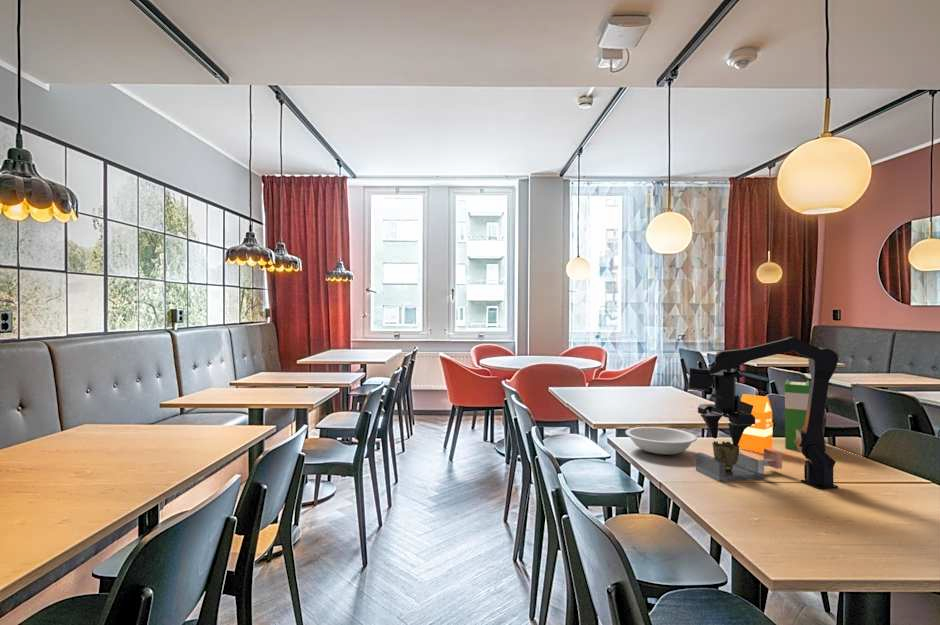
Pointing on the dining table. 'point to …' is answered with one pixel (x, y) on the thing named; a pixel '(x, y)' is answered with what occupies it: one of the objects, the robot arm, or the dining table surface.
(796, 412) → the hardback book
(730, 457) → the ornate bronze lampshade
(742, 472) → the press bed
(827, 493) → the dining table surface
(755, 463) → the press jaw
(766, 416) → the orange juice
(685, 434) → the soup bowl
